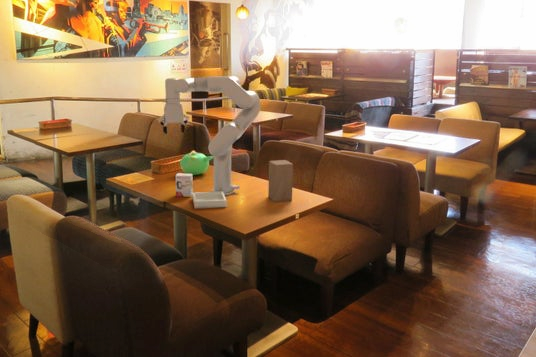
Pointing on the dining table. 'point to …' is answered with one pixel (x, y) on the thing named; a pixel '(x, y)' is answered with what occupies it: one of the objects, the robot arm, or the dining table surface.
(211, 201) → the tray
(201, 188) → the dining table surface
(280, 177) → the wooden block
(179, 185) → the ink box
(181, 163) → the green teapot
